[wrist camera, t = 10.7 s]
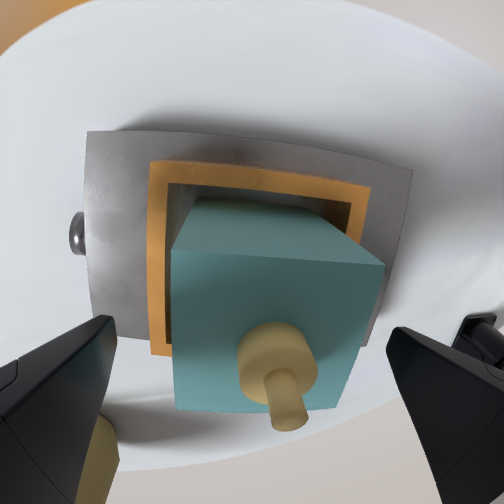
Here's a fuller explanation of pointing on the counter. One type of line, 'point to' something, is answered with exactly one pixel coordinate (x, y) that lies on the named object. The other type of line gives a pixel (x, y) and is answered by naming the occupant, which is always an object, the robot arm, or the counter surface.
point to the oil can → (266, 309)
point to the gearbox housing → (212, 186)
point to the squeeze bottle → (99, 464)
